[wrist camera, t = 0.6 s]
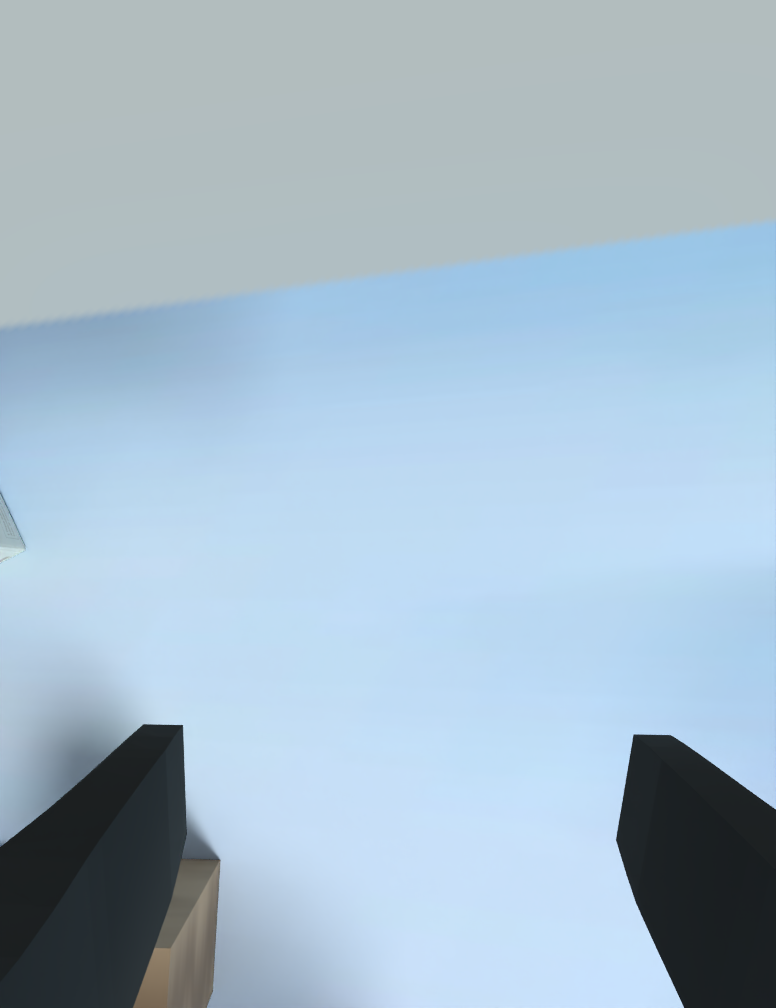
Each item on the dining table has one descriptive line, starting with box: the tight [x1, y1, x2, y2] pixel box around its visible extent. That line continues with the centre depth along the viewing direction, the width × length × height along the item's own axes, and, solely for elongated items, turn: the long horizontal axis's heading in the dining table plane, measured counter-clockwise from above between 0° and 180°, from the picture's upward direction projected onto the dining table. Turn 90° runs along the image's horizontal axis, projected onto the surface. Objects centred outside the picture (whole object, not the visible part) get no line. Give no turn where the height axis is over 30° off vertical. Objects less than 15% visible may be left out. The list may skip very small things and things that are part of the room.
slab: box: [133, 859, 220, 1008], centre depth 26 cm, size 5×2×8 cm, turn 178°
